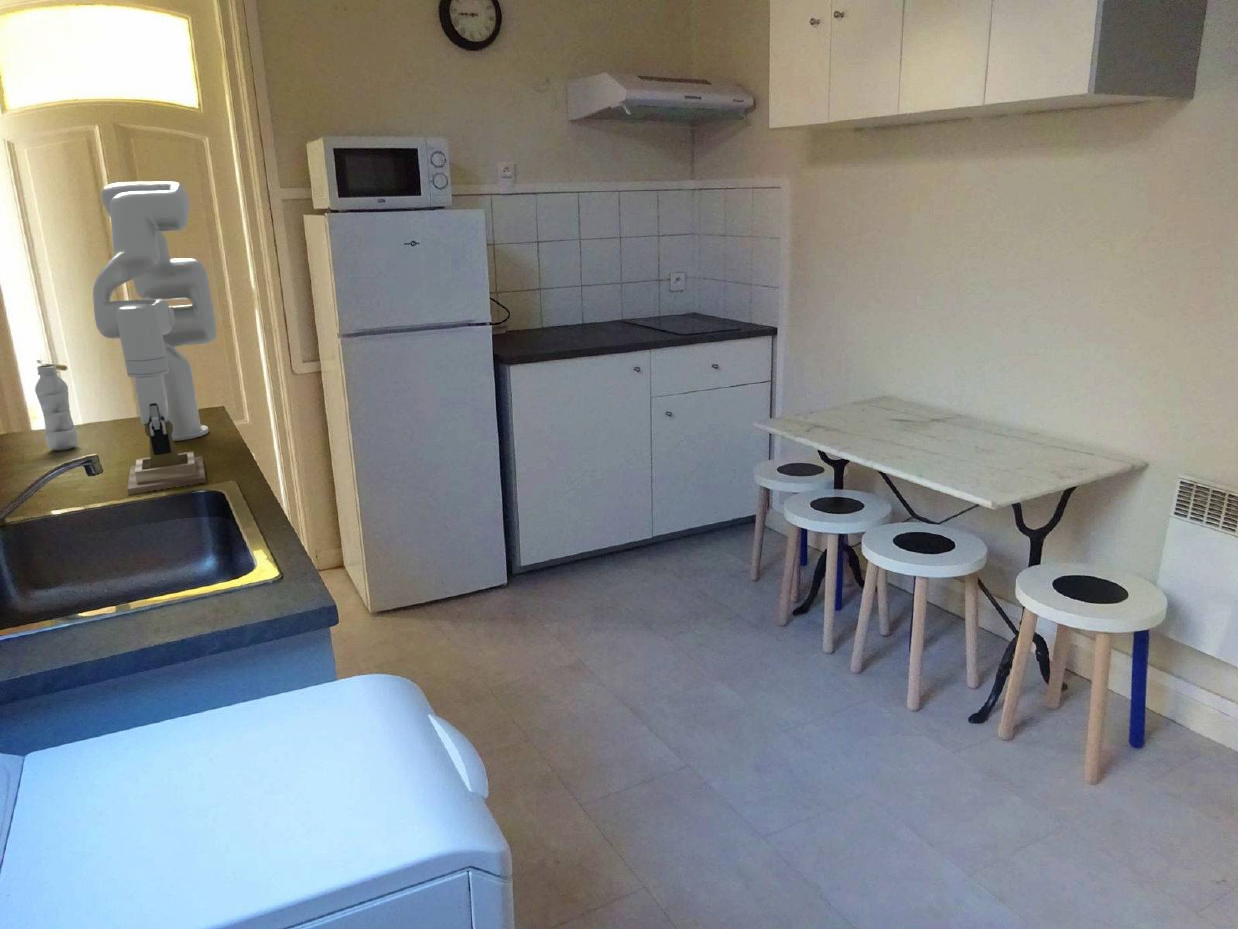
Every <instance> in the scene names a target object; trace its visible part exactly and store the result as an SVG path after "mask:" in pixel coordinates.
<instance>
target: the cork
mask: <svg viewBox="0 0 1238 929" xmlns="http://www.w3.org/2000/svg"><path fill="white" fill-rule="evenodd" d="M165 427H166V434H168V436H169V442H170V447H171V453H168V454H160V455H154V453H153V448H152V443H151V438H150V436H151V431H150V425H149V421H148V423H146V425H145V426H144V433H145V435H146V436H147V437H148V438H149V455H150V456H149V457H150V462H151V469H152V468H159V467H167V466H174V465H181V462H180V459H179V456H178V454H179V452H178V451H177V448H176V445H175V441H173V438H172V435H171V434H172V432H173V425H172V423H171V422H170V421H169V420H168V421H167V422H166V423H165ZM162 429H163V428H162Z"/></svg>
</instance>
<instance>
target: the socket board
mask: <svg viewBox="0 0 1238 929" xmlns="http://www.w3.org/2000/svg"><path fill="white" fill-rule="evenodd" d="M194 454H195V453H194V451H187V452H180V453H179V452H178V456H179V459H180V462H181V465H174V466H167V467H159V468H152V469H151V462H150V456H149V457H144V458H143V457H142V458H136V460H135V465H131V466H130V468H129V469H130V470H129V477H128V483H127V492H128V495H129V494H130V495H135V494H134V493H137V494H142V493H149V492H148V491H150V492H154V491H153V490H157V491H161V489H163V490H167V489H166V488H170V489H172V488H171V487H176V486H184V487H187V486H186V485H190V486H192V485H191V484H197V485H199V484H198V483H204V484H207V481H206V473H205V466H204V459H203V456H195V455H194Z"/></svg>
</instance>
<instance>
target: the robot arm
mask: <svg viewBox="0 0 1238 929" xmlns="http://www.w3.org/2000/svg"><path fill="white" fill-rule="evenodd" d="M100 194H101V202H102V204H103V206H104V209H105V211H106V213H107V214H108V216H109V217H110V222H111V224H110V225H111V235H112V247H113V248H112V249H113V257H112V258H111V259H110V260H109V261H108V262H107V263H106V264H105V265H104V266H103V268H102V269H101V270H100V271H99V274H98V275H97V277H96V278H95V281H94V284H93V288H92V289H93V291H92V298H93V300H92V301H93V313H94V321H95V325H96V329H97V330H98V332H99V333H100V334H101V335H102V336H103V337H104V338H107V339H113V340H114V339H115V340H116V339H120V341H121V342H120V344H121V349H122V353H123V354H122V355H123V359H124V364H125V368H126V374H127V377H129V378H133V380H134V382H133V383H134V389H135V395H136V400H137V406H138V410H139V416H140V417H139V418H140V422H141V425H143V426H144V427H145V425H146V423H148V422H149V425H150V431H151V436H150V438H151V443H152V448H153V453H154V455H160V454H168V453H171V447H170V442H169V436H168V434H166V427H165V423H166V422H167V421H168V420H169V421H170V422H171V423H172V425H173V432H172V434H171V435H172V438H173V441H174V442H177V441H186V440H191V439H195V438H198V437H202V436H204V435H207V434H208V433H209V427H208V426H207V425H204V424H201V418H200V414H199V408H198V403H197V402H198V401H197V396H196V391H195V386H194V378H193V373H192V372H193V371H192V367H191V363H190V362H189V360H188V359H187V357H186V356H185V355H183V354H182V352H180V351H179V350H178V349H177V348H176V347H182V346H195V345H203V344H204V345H205V344H211V343H212V342H214V341H215V339H216V338H217V324H216V317H215V312H214V305H213V299H212V294H211V288H210V284H209V279H208V273H207V271H206V268H205V267H204V264H203V263H202V262H201V261H200V260H198V259H195V258H191V257H190V258H186V257H185V258H184V257H183V258H171V256H170V254H169V247H168V240H167V238H166V236H165V234H164V233H163V232H178V231H182V230H184V229H186V227H187V226H188V221H189V215H190V198H189V195H188V193H187V191H186V188H185V187H184V186H183V185H182V184H181V183H180V182H176V181H124V182H114V183H110V184H108V185H105V186H104V187H103V188H102V189H101V193H100ZM131 280H132V281H133V287H134V290H135V292H136V294H137V296H138V297H139V298H140V299H130V300H129V299H128V300H113V301H111V298H112V295H113V293H114V292H115V291H116V290H117V289H118V288H119V287H121V286H122V285H123V284H125V283H128V282H129V281H131ZM178 300H180V301H181V300H187V301H190V302H191V304H184V305H182V304H181V305H170V304H169V303H168V302H167V301H178ZM162 428H163V429H162Z"/></svg>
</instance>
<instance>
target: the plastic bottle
mask: <svg viewBox="0 0 1238 929" xmlns="http://www.w3.org/2000/svg"><path fill="white" fill-rule="evenodd" d="M36 369H37V375H38V376H39V378H38V381H37V382H36V384H35V387H34V388H35V389H34V392H35V394H36V397H37V400H38V402H39V405H40V408H41V412H42V416H43V420H44V427H45V428H44V429H45V433H44V434H45V435H44V436H45V437H44V438H45V443H46V445H47V447H48V449H50V450H51V451H67V450H70V449H73V448H75V447H77V446H78V443H80V442H79V434H78V430H77V429H76V428H75V425H74V424H75V423H74V422H73V418H72V415H71V410H70V402H69V400H70V398H69V386H68V384H67V383H66V382H65V380H64V379H62V378H61V377H60V376H59V375H58V372H59V371H58V370H57V366H56V364H44V365H43V364H42V365H40V366H37V367H36Z"/></svg>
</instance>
